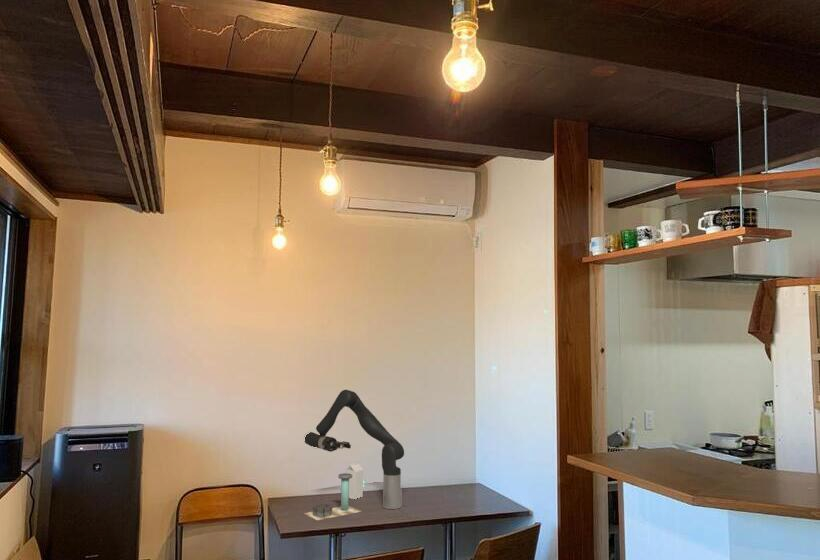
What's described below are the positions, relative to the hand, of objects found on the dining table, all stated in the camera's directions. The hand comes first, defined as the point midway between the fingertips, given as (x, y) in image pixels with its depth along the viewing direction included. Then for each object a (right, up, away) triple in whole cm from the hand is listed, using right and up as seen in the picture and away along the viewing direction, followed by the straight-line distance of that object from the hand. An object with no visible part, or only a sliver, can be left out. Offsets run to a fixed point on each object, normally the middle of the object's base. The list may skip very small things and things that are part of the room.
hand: (343, 447), depth 322 cm
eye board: (-3, -30, -17) cm, 34 cm away
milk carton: (+4, -33, +18) cm, 38 cm away
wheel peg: (+2, -28, -12) cm, 31 cm away
